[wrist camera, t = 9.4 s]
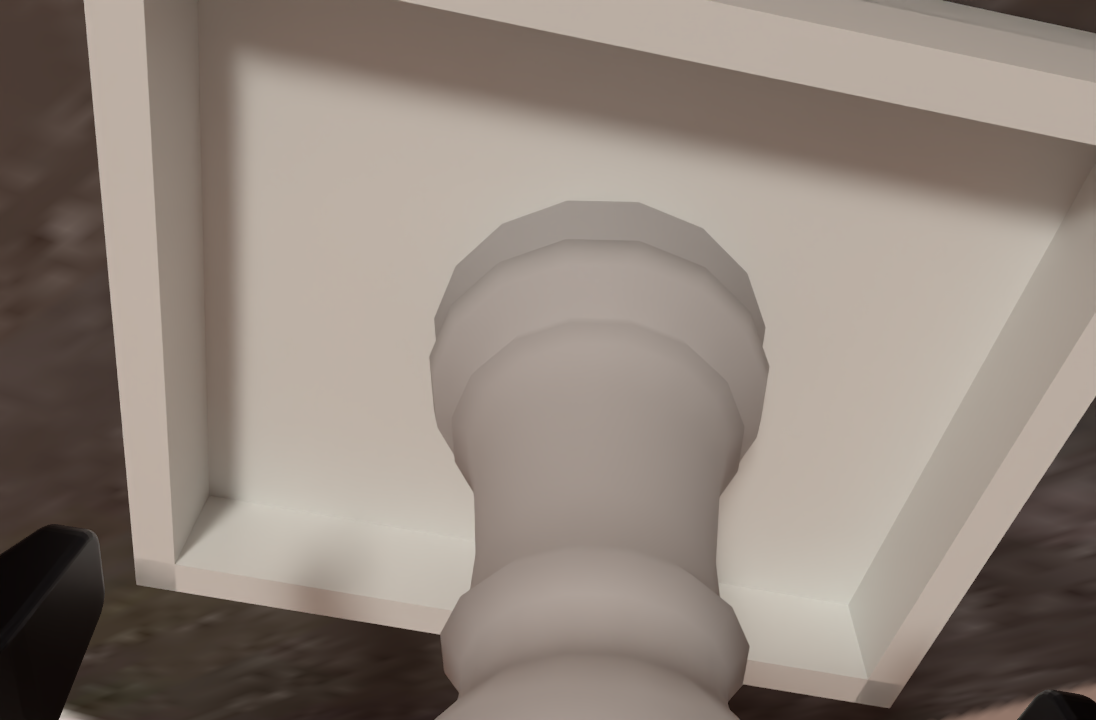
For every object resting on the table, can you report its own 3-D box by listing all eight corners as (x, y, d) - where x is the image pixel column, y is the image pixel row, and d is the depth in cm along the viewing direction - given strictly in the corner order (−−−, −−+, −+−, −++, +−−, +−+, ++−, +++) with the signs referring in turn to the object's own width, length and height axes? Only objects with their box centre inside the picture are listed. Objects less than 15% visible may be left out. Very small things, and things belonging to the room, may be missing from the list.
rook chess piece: (631, 496, 15) (650, 1117, 8) (381, 360, 14) (174, 967, 7) (830, 298, 13) (1067, 933, 6) (554, 114, 11) (484, 667, 5)
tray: (1159, 46, 12) (1276, 121, 10) (855, 589, 17) (889, 708, 15) (172, -167, 11) (72, -134, 9) (194, 474, 17) (136, 584, 14)
